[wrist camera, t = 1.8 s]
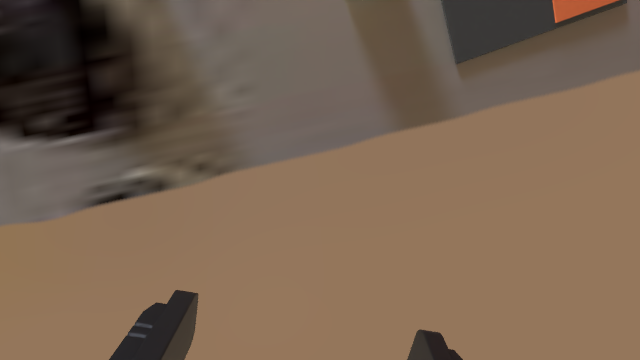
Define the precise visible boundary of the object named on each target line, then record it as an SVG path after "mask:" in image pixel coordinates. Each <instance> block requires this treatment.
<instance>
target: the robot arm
mask: <svg viewBox="0 0 640 360" xmlns="http://www.w3.org/2000/svg"><path fill="white" fill-rule="evenodd" d="M197 304H198V293H193V292H186V291H180V290H176V291H175V292H174V293H173V295H172V297H171V298H170V300H169V301H168V303H167V304H162V303H155V304H154V305H152V306H151V307H149V308H148V309H146V310H145V311H143V313H142V314H141V315H140V317H139V318H138V320H137V321H136V323H135V325H134V326H133V327H132V328H131V330H130V331H129V332H128V335H127V336H126V337H125V338H124V339H123V341H122V342H121V344H120V345H119V347H118V348H117V349H116V351H115V352H114V354H113V355H112V356H111V358H110V359H109V360H184V359H185V357H186V354H187V353H188V350H189V348H190V346H191V342H192V340H193V336H194V331H195V324H196V314H197ZM407 360H463V359H462V358H461V357H460V356H459V355H458V354H457V353H456V352H455V351H454V350H451V349H448V347H447V345H446V343H445V341H444V338H443V336H442V335H441V334H440V333H438V332H432V331H426V330H418V331H417V333H416V336H415V339H414V342H413V345H412V347H411V351H410V354H409V356H408V359H407Z"/></svg>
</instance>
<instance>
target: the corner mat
mask: <svg viewBox="0 0 640 360" xmlns="http://www.w3.org/2000/svg"><path fill="white" fill-rule="evenodd" d="M441 1H442V6H443V10H444V15H445V19H446V23H447V28H448V32H449V36H450V41H451V45H452V50H453V54H454V58H455V63H456V64H458V63H461V62H464V61H467V60H469V59H472V58H475V57H478V56H481V55H483V54H486V53H489V52H492V51H494V50H497V49H500V48H503V47H506V46H508V45H511V44H514V43H517V42H519V41H522V40H525V39H528V38H531V37H533V36H536V35H539V34H542V33H544V32H547V31H550V30H553V29H556V28H558V27H561V26H564V25H567V24H569V23H572V22H575V21H578V20H581V19H583V18H586V17H589V16H592V15H595V14H597V13H600V12H603V11H606V10H608V9H611V8H614V7H617V6H620V5H622V4H625V3H627V0H441Z"/></svg>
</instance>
